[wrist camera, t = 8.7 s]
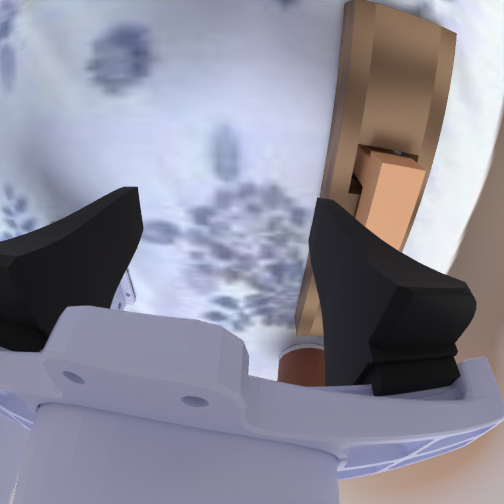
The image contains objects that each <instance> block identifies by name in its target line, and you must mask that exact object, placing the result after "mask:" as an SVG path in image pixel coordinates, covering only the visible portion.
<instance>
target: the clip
mask: <svg viewBox="0 0 504 504" xmlns="http://www.w3.org/2000/svg"><path fill="white" fill-rule="evenodd" d="M353 172H354V174H355V175H356V177H357V178H358V180H359V181H360V183H361V185H362V186H363V189H362V193H361V197H360V201H359V205H358V209H357V213H356V217H355V218H356V219H357V220H358V221H359V222H360V223H361V224H363V225H364V226H365V227H366V228H367V229H369V230H370V231H371V232H373V233H374V234H375V235H376V236H378V237H379V238H380V239H382V240H383V241H385V242H386V243H388V244H389V245H391V246H392V247H393V248H395V249H396V250H398V251H399V248H400V246H401V243H402V241H403V238H404V235H405V233H406V230H407V227H408V224H409V222H410V219H411V216H412V213H413V210H414V207H415V204H416V201H417V198H418V195H419V192H420V189H421V186H422V182H423V179H424V176H425V172H426V171H425V170H424V169H423V168H422V167H421V166H420V165H419V164H418V163H416V162H415V161H414V160H413V159H411V158H406V157H402V156H399V155H398V154H397V153H396V152H395V151H394V150H390V149H385V148H380V147H374V146H368V145H362V144H358V147H357V153H356V158H355V163H354V168H353Z"/></svg>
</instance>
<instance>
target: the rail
mask: <svg viewBox="0 0 504 504" xmlns="http://www.w3.org/2000/svg"><path fill="white" fill-rule="evenodd" d="M456 36H457V33H455V32H452V31H450V30H448V29H446V28H444V27H441V26H439V25H437V24H434V23H432V22H429V21H427V20H424V19H422V18H419V17H417V16H414V15H411V14H408V13H405V12H402V11H399V10H396V9H393V8H390V7H387V6H384V5H380V4H377V3H373V2H369V1H366V0H351V1H349V2H347V3H345V6H344V19H343V31H342V42H341V52H340V62H339V71H338V79H337V88H336V96H335V103H334V111H333V118H332V125H331V132H330V139H329V145H328V152H327V158H326V164H325V170H324V176H323V182H322V187H321V193H320V198H325V199H332V200H334V201H335V202H337V203H338V204H339V205H341V206H342V207H343V208H344V209H345V210H346V211H348V212H349V213H350V214H351V215H352V216H353V217H354V218H355V217H356V213H357V209H358V205H359V201H360V197H361V193H362V189H363V186H362V185H361V183H360V181H359V180H352V179H351V177H352V173H353V168H354V163H355V158H356V153H357V147H358V144H362V145H368V146H374V147H380V148H385V149H390V150H395V151H400V152H402V157H406V158H411V159H413V160H414V161H415V162H416V163H418V164H419V165H420V166H421V167H422V168H423V169H424V170H425V171H426V172H425V176H424V179H423V182H422V186H421V189H420V192H419V195H418V198H417V201H416V204H415V207H414V210H413V213H412V216H411V219H410V222H409V224H408V227H407V230H406V233H405V235H404V238H403V241H402V243H401V246H400V248H399V251H400V252H401V253H402V251H403V248H404V246H405V243H406V241H407V238H408V236H409V233H410V230H411V228H412V225H413V222H414V219H415V217H416V214H417V211H418V208H419V205H420V202H421V199H422V196H423V193H424V190H425V187H426V183H427V180H428V177H429V174H430V170H431V167H432V163H433V160H434V156H435V152H436V148H437V145H438V141H439V136H440V132H441V128H442V124H443V119H444V115H445V110H446V105H447V100H448V94H449V89H450V83H451V77H452V70H453V63H454V55H455V46H456ZM295 325H296V336H324V334H323V322H322V312H321V306H320V301H319V296H318V292H317V287H316V283H315V279H314V274H313V270H312V265H311V261H310V251H309V255H308V260H307V265H306V269H305V274H304V278H303V283H302V287H301V292H300V296H299V301H298V305H297V309H296V313H295Z"/></svg>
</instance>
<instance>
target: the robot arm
mask: <svg viewBox="0 0 504 504" xmlns="http://www.w3.org/2000/svg"><path fill="white" fill-rule="evenodd" d="M142 232H143V222H142V215H141V208H140V201H139V193H138V187H122V188H119V189H117V190H115V191H113V192H111V193H109V194H107V195H105V196H103V197H102V198H100V199H98V200H96V201H94V202H93V203H91V204H89V205H87V206H85V207H84V208H82V209H80V210H78V211H76V212H74V213H73V214H71V215H69V216H67V217H65V218H63V219H61V220H59V221H56V222H54V223H52V224H50V225H48V226H45V227H42V228H40V229H37V230H35V231H32V232H30V233H27V234H24V235H21V236H18V237H15V238H12V239H8V240H5V241H1V242H0V504H9V502H10V499H11V496H12V493H13V490H14V487H15V484H16V481H17V479H18V481H17V485H16V490H15V495H14V500H13V504H339V488H338V480H344V479H350V478H356V477H361V476H366V475H370V474H375V473H379V472H383V471H387V470H391V469H395V468H399V467H403V466H406V465H409V464H413V463H416V462H419V461H423V460H426V459H429V458H432V457H435V456H438V455H441V454H444V453H447V452H450V451H453V450H456V449H459V448H461V447H464V446H466V445H467V444H469V443H470V442H472V441H474V440H475V439H477V438H478V437H480V436H482V435H483V434H484V433H486V432H487V431H489V430H490V429H492V428H493V427H495V426H496V425H498V424H499V423H500V422H502V421H503V420H504V402H503V399H502V396H501V394H500V391H499V388H498V385H497V382H496V380H495V377H494V375H493V372H492V370H491V367H490V365H489V362H488V360H487V358H486V357H478V358H473V359H467V360H464V361H461V362H460V363H458V364H456V361H455V359H454V356H455V355H456V354H457V352H458V350H457V348H456V345H455V342H456V341H457V340H458V338H459V337H460V336H461V334H462V333H463V332H464V331H465V329H466V328H467V327H468V325H469V324H470V322H471V320H472V318H473V317H474V314H475V311H476V300H475V298H474V296H473V294H472V293H471V291H470V289H469V288H468V286H467V284H466V283H465V282H463V281H461V280H458V279H456V278H453V277H450V276H448V275H445V274H442V273H440V272H438V271H436V270H434V269H431V268H429V267H427V266H425V265H423V264H421V263H419V262H417V261H415V260H414V259H412V258H410V257H408V256H407V255H405V254H403V253H401V252H400V251H398V250H396V249H395V248H393V247H392V246H391V245H389V244H388V243H386V242H385V241H383V240H382V239H380V238H379V237H378V236H376V235H375V234H374V233H373V232H371V231H370V230H369V229H367V228H366V227H365V226H364V225H363V224H361V223H360V222H359V221H358V220H357V219H356V218H354V217H353V216H352V215H351V214H350V213H349V212H348V211H346V210H345V209H344V208H343V207H342V206H341V205H339V204H338V203H337V202H335V201H334V200H332V199H325V198H317V202H316V207H315V212H314V217H313V222H312V227H311V231H310V236H309V251H310V261H311V265H312V270H313V274H314V279H315V283H316V287H317V292H318V296H319V301H320V306H321V312H322V322H323V334H324V353H325V387H305V386H299V385H293V384H288V383H283V382H278V381H273V380H268V379H264V378H259V377H255V376H250V375H248V366H249V355H248V352H247V349H246V347H245V344H244V342H243V340H241V339H240V338H238V337H237V336H235V335H234V334H232V333H231V332H229V331H228V330H226V329H225V328H223V327H222V326H219V325H215V324H211V323H207V322H204V321H200V320H196V319H186V318H176V317H167V316H159V315H151V314H143V313H135V312H128V311H124V308H125V306H126V304H134V303H135V301H136V300H135V296H134V293H133V290H132V286H131V283H130V279H129V276H128V272H127V267H128V265H129V263H130V261H131V259H132V257H133V255H134V253H135V251H136V249H137V247H138V244H139V241H140V238H141V235H142ZM128 293H129V294H128Z"/></svg>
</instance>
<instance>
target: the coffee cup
mask: <svg viewBox="0 0 504 504" xmlns="http://www.w3.org/2000/svg"><path fill="white" fill-rule="evenodd" d="M278 382H283V383H288V384H293V385H299V386H305V387H325V353H324V346H322V345H319V344H314V343H305V344H298V345H294V346H291V347H289V348H287V349H285V350H284V351H283V352H282V353H281V354H280V355H279V368H278Z"/></svg>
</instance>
